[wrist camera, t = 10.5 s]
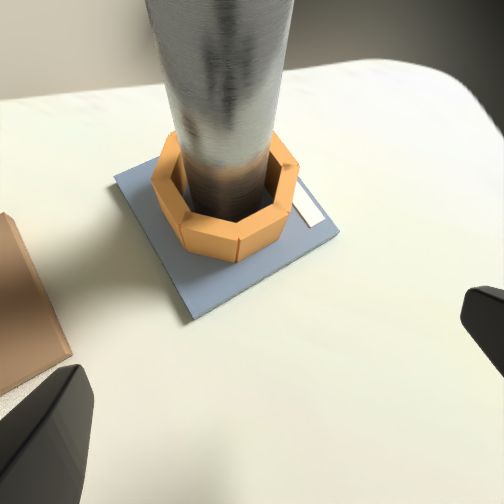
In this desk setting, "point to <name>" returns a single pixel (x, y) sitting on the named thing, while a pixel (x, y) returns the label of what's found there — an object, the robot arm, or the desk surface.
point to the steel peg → (222, 93)
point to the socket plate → (207, 272)
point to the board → (24, 315)
